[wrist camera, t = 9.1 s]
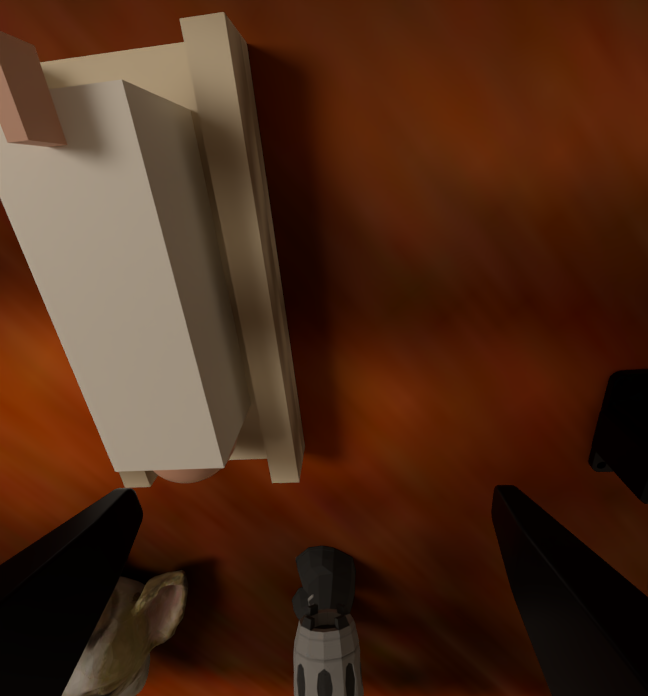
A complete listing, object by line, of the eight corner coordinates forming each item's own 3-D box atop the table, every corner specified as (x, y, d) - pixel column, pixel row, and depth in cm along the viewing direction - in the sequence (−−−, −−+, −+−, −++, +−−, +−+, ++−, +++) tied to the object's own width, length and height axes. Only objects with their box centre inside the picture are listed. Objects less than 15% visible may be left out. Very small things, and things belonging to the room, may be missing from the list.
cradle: (15, 75, 16) (-56, 53, 13) (246, 43, 15) (223, 12, 12) (150, 452, 24) (125, 487, 21) (304, 445, 23) (299, 482, 20)
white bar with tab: (65, 95, 15) (-119, 41, 9) (184, 79, 14) (72, 11, 9) (175, 441, 22) (112, 537, 16) (258, 437, 22) (224, 535, 16)
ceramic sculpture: (-32, 770, 25) (-46, 632, 19) (58, 630, 33) (66, 506, 27) (128, 799, 26) (156, 675, 20) (177, 656, 34) (207, 540, 28)
